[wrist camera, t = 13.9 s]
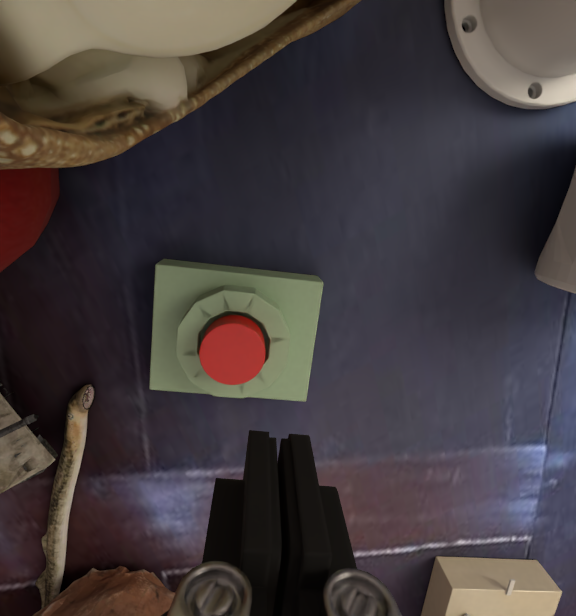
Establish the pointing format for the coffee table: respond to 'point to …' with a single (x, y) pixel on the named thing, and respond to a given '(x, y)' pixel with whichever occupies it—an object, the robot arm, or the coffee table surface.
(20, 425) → the toy tank
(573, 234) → the mug
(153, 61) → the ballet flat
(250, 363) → the button
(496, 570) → the base
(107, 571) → the decorative rock
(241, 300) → the button box
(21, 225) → the apple
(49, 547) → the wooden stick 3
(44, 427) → the coffee table surface
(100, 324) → the coffee table surface
